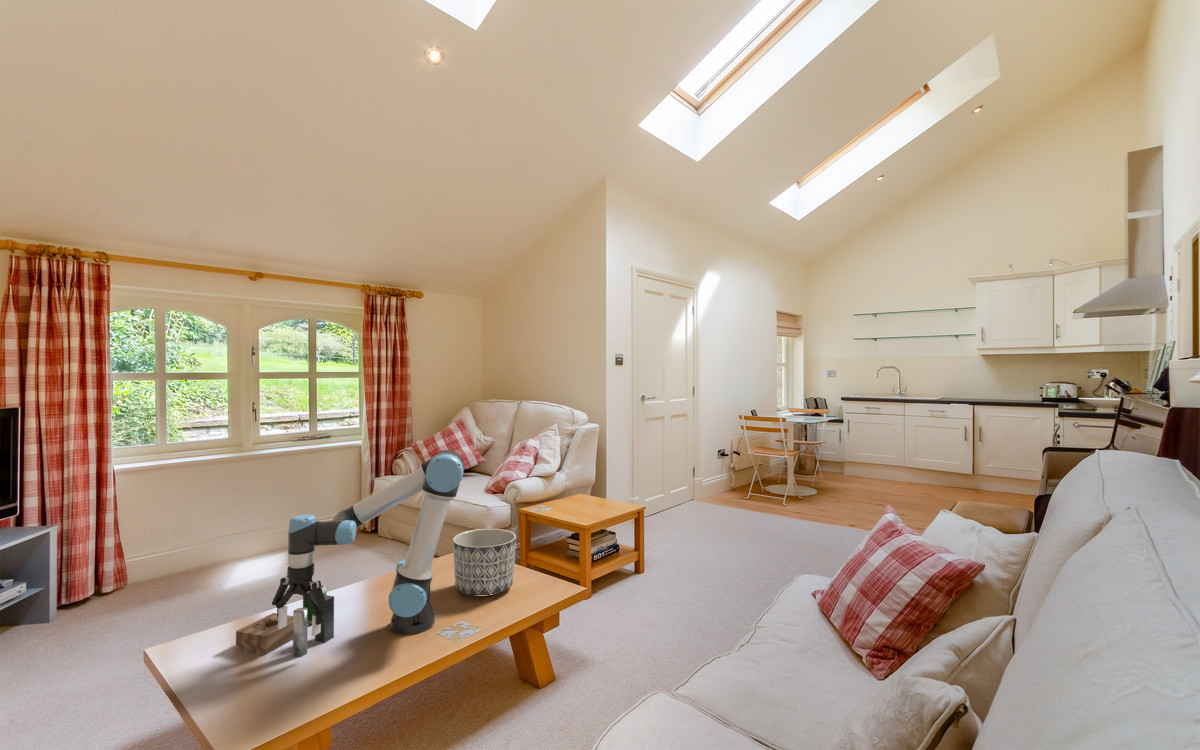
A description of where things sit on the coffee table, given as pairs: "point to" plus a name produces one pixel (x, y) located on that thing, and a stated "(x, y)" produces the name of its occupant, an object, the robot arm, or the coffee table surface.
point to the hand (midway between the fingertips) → (299, 630)
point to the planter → (484, 561)
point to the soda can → (306, 605)
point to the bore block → (264, 635)
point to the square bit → (327, 622)
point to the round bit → (300, 632)
